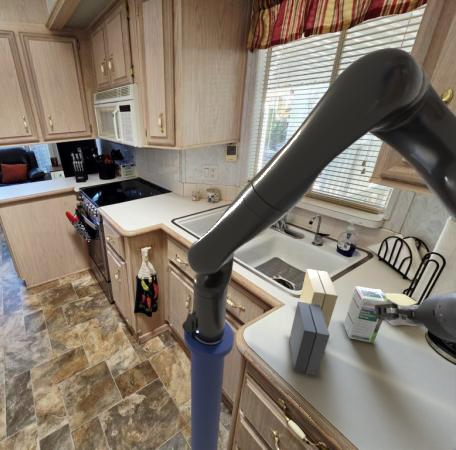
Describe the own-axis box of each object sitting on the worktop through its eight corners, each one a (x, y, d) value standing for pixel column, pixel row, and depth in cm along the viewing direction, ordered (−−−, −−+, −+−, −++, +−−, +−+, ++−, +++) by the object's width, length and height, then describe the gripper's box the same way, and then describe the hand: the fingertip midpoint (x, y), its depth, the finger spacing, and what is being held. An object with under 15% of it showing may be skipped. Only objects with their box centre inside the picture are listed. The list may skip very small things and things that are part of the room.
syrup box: (348, 338, 70) (363, 298, 64) (342, 323, 75) (355, 284, 69) (373, 343, 68) (390, 303, 62) (365, 327, 73) (380, 288, 67)
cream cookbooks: (302, 335, 72) (313, 291, 66) (297, 309, 82) (306, 268, 75) (324, 340, 70) (338, 295, 64) (316, 312, 80) (327, 271, 73)
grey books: (293, 370, 63) (304, 330, 57) (289, 339, 71) (297, 301, 66) (316, 376, 61) (329, 335, 55) (309, 343, 70) (319, 305, 64)
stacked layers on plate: (393, 301, 82) (399, 287, 80) (423, 321, 74) (430, 307, 72) (366, 305, 81) (371, 291, 79) (393, 326, 73) (399, 311, 71)
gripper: (529, 301, 37) (445, 307, 51) (407, 285, 42) (362, 294, 56) (543, 356, 35) (451, 346, 49) (412, 332, 39) (364, 329, 54)
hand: (404, 319), depth 53 cm, fingers open, 8 cm apart
